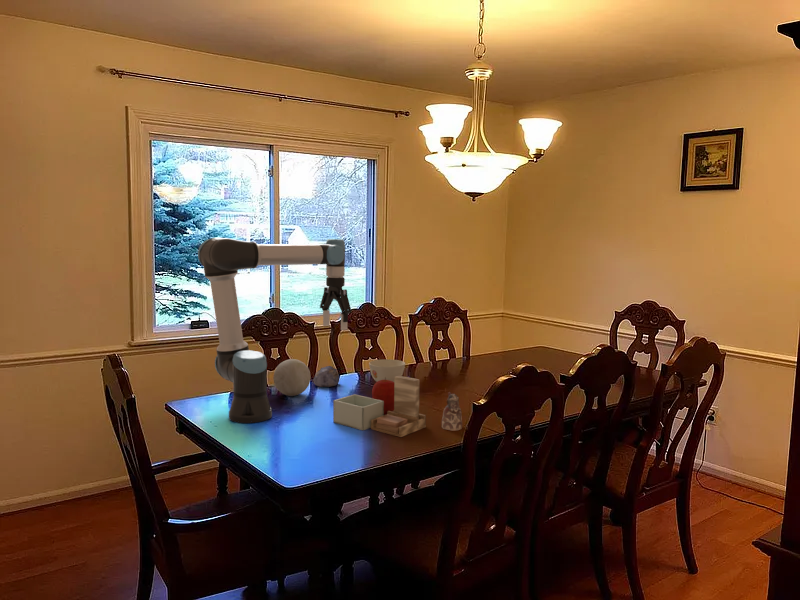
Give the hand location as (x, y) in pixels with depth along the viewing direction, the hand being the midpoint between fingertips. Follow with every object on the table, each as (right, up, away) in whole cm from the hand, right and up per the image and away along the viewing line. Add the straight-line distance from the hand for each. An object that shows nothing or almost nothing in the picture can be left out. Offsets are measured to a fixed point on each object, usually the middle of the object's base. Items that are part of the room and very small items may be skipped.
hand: (335, 327), depth 258 cm
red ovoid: (+21, -31, -26) cm, 46 cm away
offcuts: (+25, -32, -46) cm, 61 cm away
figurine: (+45, -33, -42) cm, 70 cm away
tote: (+12, -32, -38) cm, 51 cm away
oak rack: (+26, -33, -44) cm, 61 cm away
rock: (-6, -26, +15) cm, 31 cm away
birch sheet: (+29, -32, -40) cm, 59 cm away
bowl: (+21, -26, +16) cm, 37 cm away
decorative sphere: (-17, -28, -3) cm, 33 cm away
